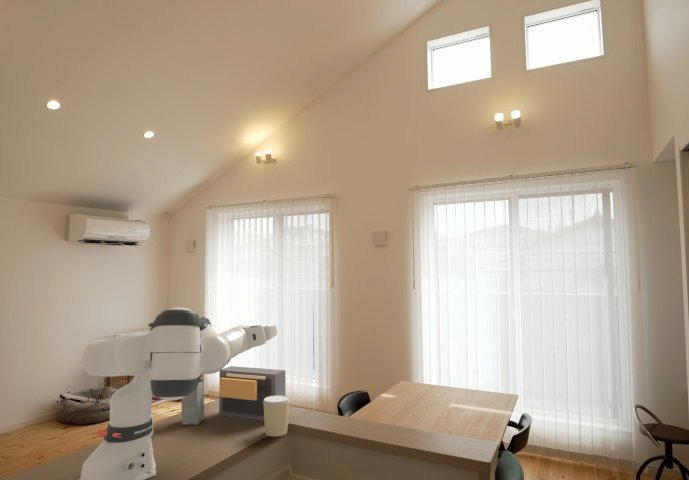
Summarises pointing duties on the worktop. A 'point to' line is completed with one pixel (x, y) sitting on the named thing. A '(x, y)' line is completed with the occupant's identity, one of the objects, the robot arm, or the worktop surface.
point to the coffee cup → (276, 415)
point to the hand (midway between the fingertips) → (257, 330)
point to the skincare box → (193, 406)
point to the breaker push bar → (238, 388)
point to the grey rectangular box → (267, 385)
